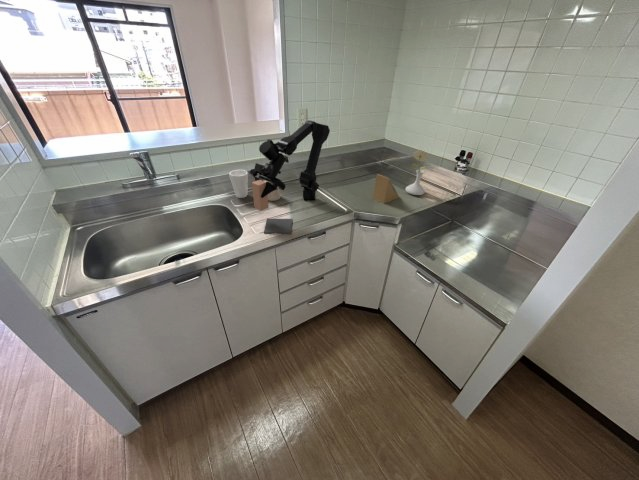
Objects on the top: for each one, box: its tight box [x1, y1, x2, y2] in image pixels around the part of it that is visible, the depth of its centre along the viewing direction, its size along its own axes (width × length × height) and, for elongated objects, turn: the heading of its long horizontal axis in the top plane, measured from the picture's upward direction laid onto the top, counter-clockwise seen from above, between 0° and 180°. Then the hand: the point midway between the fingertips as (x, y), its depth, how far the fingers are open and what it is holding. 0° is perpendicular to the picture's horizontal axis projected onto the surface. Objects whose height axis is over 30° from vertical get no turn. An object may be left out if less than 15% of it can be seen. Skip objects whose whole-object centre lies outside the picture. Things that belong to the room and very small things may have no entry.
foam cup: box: [228, 169, 249, 199], centre depth 142 cm, size 10×9×13 cm
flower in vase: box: [405, 149, 429, 196], centre depth 153 cm, size 13×11×25 cm
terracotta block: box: [251, 180, 269, 212], centre depth 118 cm, size 4×4×12 cm
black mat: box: [263, 218, 293, 235], centre depth 121 cm, size 12×12×1 cm
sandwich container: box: [372, 173, 400, 205], centre depth 148 cm, size 9×15×15 cm, turn 131°
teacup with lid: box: [263, 180, 281, 202], centre depth 142 cm, size 12×9×12 cm
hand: (257, 195), depth 117 cm, fingers closed on terracotta block, 4 cm apart
